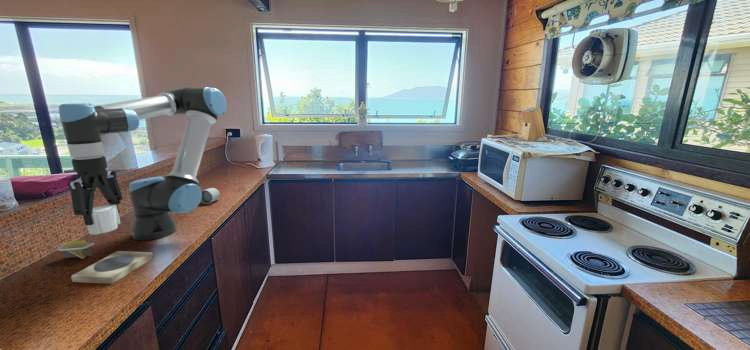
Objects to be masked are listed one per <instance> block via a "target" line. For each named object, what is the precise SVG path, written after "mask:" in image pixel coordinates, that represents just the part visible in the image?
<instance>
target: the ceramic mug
mask: <svg viewBox="0 0 750 350" xmlns="http://www.w3.org/2000/svg"><path fill="white" fill-rule="evenodd" d="M201 193H202V198H201V201H200V203H201V204H204V205H210V204H212V203H214V202H215V201H217V200H218V199H219V198H220V195H221V194H220V191H219V190H218V189H217V188H215V187H209V188H207V189H203V190H201Z"/></svg>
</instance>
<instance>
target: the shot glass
mask: <svg viewBox="0 0 750 350" xmlns="http://www.w3.org/2000/svg"><path fill="white" fill-rule="evenodd" d="M92 213H95V214H96V218H97V222H98V226H99V230H100V234H105V233H109V232H112V231H115V230H116V229H118V224H117V217H116V207H115V206H114V205H110V204H109V205H108V204H106V205H99V206H96V207H93V211H92Z"/></svg>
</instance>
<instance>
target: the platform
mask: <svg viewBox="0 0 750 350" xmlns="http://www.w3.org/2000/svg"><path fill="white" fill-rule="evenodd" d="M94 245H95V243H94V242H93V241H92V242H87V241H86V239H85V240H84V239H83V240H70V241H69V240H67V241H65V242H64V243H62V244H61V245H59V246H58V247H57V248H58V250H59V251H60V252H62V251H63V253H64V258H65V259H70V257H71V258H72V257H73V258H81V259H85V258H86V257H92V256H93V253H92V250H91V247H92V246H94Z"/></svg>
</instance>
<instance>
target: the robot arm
mask: <svg viewBox="0 0 750 350" xmlns="http://www.w3.org/2000/svg"><path fill="white" fill-rule="evenodd" d="M227 109H228V108H227V100H226V98H225V95H224V94H223V92H222V91H221V90H219V89H217V88H215V87H209V86H206V87H182V88H177V89H173V90H168V91H163V92H159V93H158V94H157V95H155V96H148V97H141V98H137V99H130V100H125V101H118V102H113V103H112V102H111V103H105V104H99V105H96V106H95V105H93V103H89V102H88V103H87V102H86V103H84V102H82V103H81V102H80V103H79V102H78V103H75V102H74V103H62V104H60V105H59V106H58V115H59V121H60V123H61V125H62V126H61V127H62V129H63V133H64V136H65V140H66V145H67V148H68V152H69V157H70V158H72V160H71V164H72V168H73V171H74V172H75V173H76V174H77V176H76V179H75V180H74V181H68V182H67V186H68V188H69V190H70V196H71V203H72V208H73V209H72V210H73V214H74V216H82V217H83V222H84V225H85V226H87V230H88V234H89V235H100V234H101V233H100V230H99V226H98V222H97V218H96V214H95V213H92V211H93V208H94V198H95V193H96V191H97V188H98V189H99V191H100V193H101V194H102V195H103V197H104V199H105V200H106V202H107V205H114V206H115V207H116V217H117V225H120V224H121V219H120V214H119V213H120V209H119V205H120V204H121V203H122V200H123V196H122V195H123V194H122V192H121V189H120V185H119V183H118V179H117V171H115V170H107V168H108V163H107V158H106V156H104V155H105V149H104V145H103V141H102V136H103V135H109V134H118V133H120V134H121V133H128V132H132V131H136V130H137V129H138V128H139V126H140V121H142V120H145V119H149V118H155V117H158V116H163V115H166V116H168V117H169V116H170V117H172V116H174V115H186V116H187V117H188V119H187V122H186V127H185V129H184V131H183V134H182V135H183V136H182V138H181V142H180V144H179V147H178V151H177V154H176V158H175V161H174V164H173V167H172V170H171V172H170V173H168V174H166V175H165V178H164V176H152V177H151V176H150V177H146V178H141V179H137V180H134V181H132V182H130V183H129V185H128V188H129V190H128V191H129V196H130V201H131V205H132V210H133V215H134V216H133V217H134V221H133V223H132V224H133V225H132V231H131V233H132V234H131V235H132V239H134V240H135V241H137V240H138V241H150V240H156V239H161V238H164V237H166V236H169V235H172V234H173V233H175V231H177V229H178V228H177V223H176V222H175V220H174V218H173V216H172V215H171V213H173V214H174V213H175V214H186V213H191V212H192V211H194V210H195V209H196V208H197V207H198V206H199V205H200V203H201V198H202V193H201V191H202V190H201V187H200V186H199V183H200V182H199V180H198V179H197V175H198V171H199V168H200V164H201V162H202V158H203V154H204V151H205V147H206V144H207V140H208V137H209V134H210V131H211V126H212V125H214V124H216V123H217V120H218V117H220V116H223V115H224V114H225V113H226V111H227Z"/></svg>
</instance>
